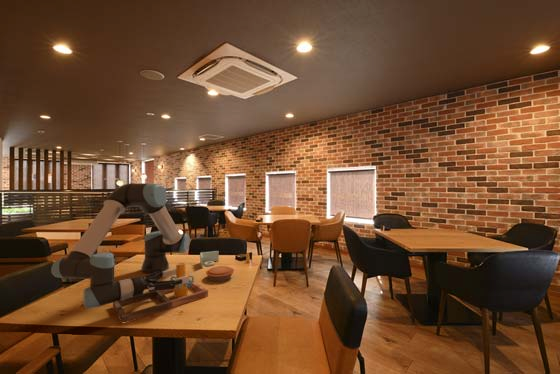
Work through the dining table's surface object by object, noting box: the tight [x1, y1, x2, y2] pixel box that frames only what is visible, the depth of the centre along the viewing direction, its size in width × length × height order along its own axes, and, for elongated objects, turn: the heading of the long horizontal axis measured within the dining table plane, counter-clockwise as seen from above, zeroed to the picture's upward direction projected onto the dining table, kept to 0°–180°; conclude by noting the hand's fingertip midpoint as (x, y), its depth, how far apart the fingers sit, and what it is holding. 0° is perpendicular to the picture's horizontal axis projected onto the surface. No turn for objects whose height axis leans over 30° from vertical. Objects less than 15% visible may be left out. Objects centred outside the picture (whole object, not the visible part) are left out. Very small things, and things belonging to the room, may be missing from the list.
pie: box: [205, 265, 235, 282], centre depth 140 cm, size 15×16×5 cm
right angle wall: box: [199, 250, 220, 269], centre depth 163 cm, size 12×12×8 cm
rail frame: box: [112, 279, 209, 323], centre depth 111 cm, size 18×34×2 cm, turn 134°
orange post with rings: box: [169, 262, 195, 299], centre depth 117 cm, size 12×10×15 cm
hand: (182, 274), depth 117 cm, fingers open, 13 cm apart
